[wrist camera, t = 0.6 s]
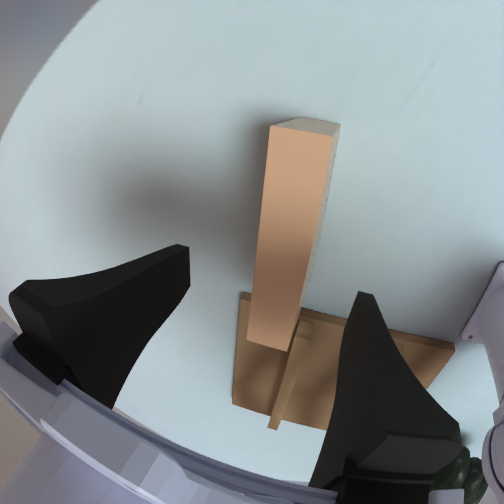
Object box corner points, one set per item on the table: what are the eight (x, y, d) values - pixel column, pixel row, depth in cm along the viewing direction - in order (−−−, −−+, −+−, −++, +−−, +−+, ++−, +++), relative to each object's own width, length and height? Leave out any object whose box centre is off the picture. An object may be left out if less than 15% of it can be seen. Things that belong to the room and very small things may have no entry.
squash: (387, 468, 35) (373, 545, 23) (407, 429, 29) (395, 534, 16) (462, 462, 30) (458, 536, 18) (498, 419, 24) (504, 515, 11)
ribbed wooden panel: (453, 343, 21) (458, 367, 19) (380, 433, 31) (377, 452, 28) (244, 291, 26) (231, 313, 24) (234, 398, 35) (226, 415, 33)
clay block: (340, 123, 17) (332, 136, 11) (310, 278, 23) (286, 351, 17) (302, 117, 18) (270, 125, 11) (280, 270, 24) (246, 339, 17)
